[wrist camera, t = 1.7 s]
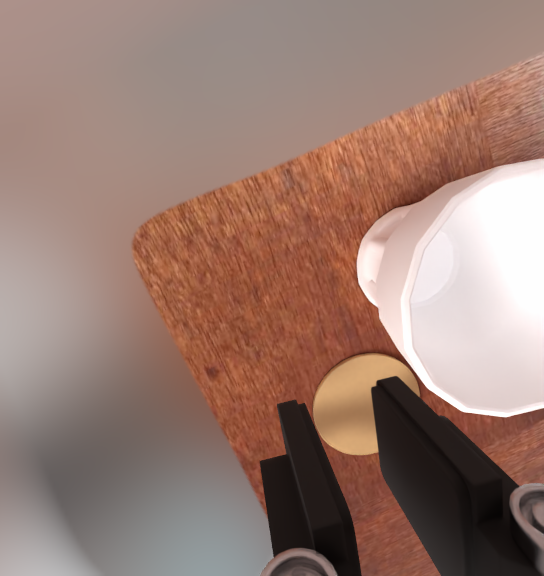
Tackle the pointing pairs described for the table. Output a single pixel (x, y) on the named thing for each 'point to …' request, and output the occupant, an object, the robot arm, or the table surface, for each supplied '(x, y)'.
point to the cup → (467, 288)
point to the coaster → (354, 401)
